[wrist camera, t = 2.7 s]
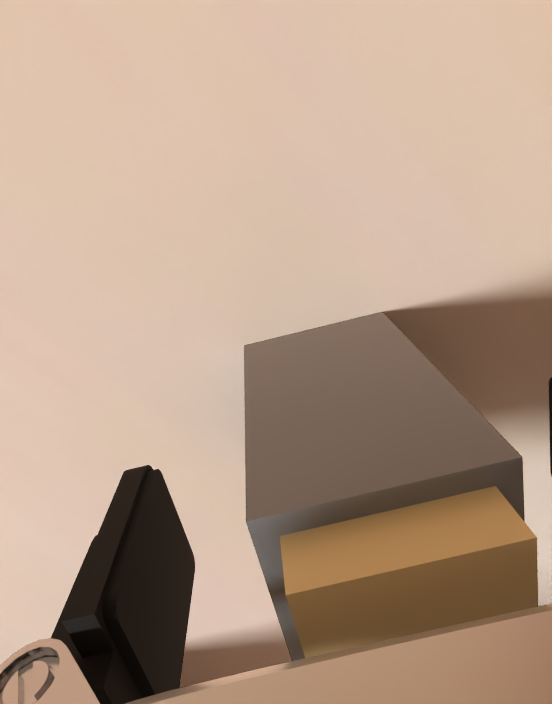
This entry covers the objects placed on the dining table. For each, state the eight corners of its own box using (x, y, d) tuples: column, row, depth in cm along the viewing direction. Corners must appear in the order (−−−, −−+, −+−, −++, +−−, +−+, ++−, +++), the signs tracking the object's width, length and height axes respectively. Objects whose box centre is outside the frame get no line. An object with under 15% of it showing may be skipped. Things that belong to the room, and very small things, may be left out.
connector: (244, 345, 13) (246, 579, 6) (382, 311, 13) (569, 505, 6) (276, 459, 15) (311, 763, 7) (400, 430, 14) (566, 707, 7)
